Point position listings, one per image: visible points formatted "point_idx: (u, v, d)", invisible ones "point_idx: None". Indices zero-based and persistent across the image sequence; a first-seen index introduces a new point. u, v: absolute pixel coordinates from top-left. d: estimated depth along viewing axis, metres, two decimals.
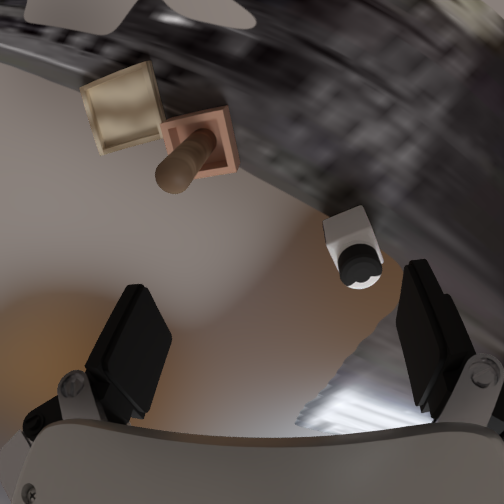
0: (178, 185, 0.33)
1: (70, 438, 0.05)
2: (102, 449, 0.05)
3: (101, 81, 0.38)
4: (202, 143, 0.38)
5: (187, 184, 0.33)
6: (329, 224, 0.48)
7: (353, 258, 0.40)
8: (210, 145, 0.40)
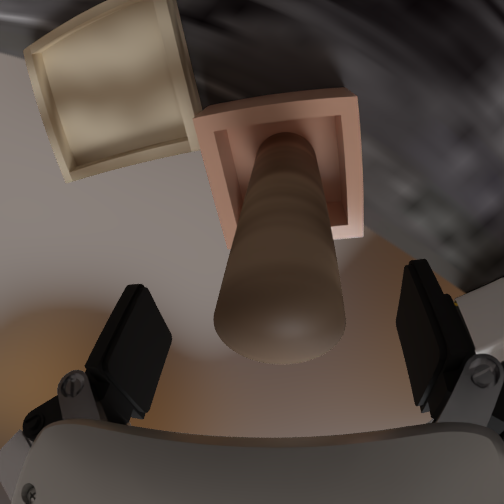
0: (295, 347, 0.10)
1: (70, 439, 0.05)
2: (102, 449, 0.05)
3: (62, 30, 0.14)
4: (316, 180, 0.15)
5: (326, 347, 0.10)
6: (470, 309, 0.25)
7: None
8: None
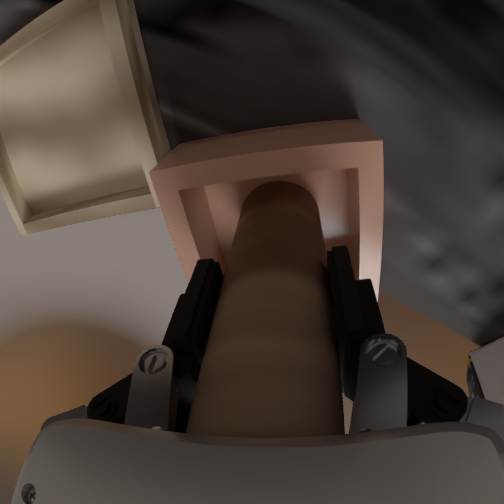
0: None
1: (70, 438, 0.05)
2: (102, 449, 0.05)
3: (1, 53, 0.10)
4: (321, 276, 0.10)
5: None
6: (485, 366, 0.20)
7: None
8: None
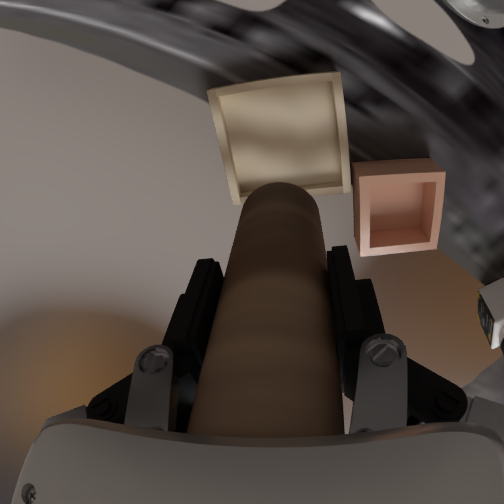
0: None
1: (70, 438, 0.05)
2: (102, 449, 0.05)
3: (254, 87, 0.25)
4: (321, 277, 0.10)
5: None
6: (489, 296, 0.36)
7: None
8: None
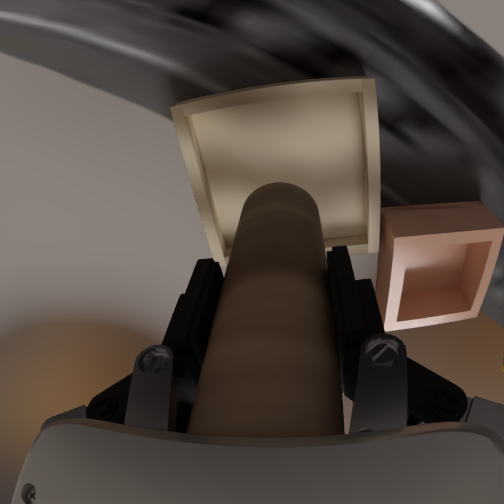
0: None
1: (70, 438, 0.05)
2: (102, 449, 0.05)
3: (240, 100, 0.17)
4: (321, 277, 0.10)
5: None
6: None
7: None
8: None
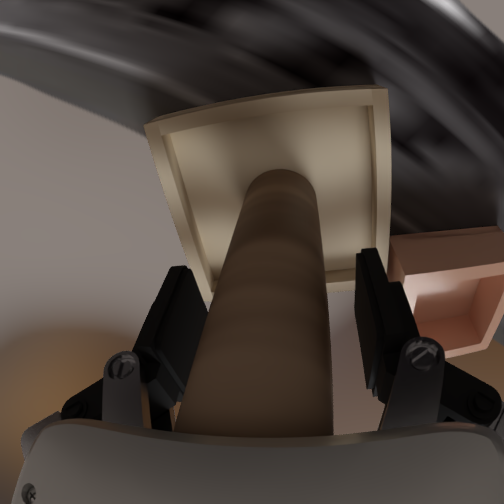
0: None
1: (70, 438, 0.05)
2: (102, 449, 0.05)
3: (226, 116, 0.14)
4: (314, 246, 0.12)
5: None
6: None
7: None
8: None
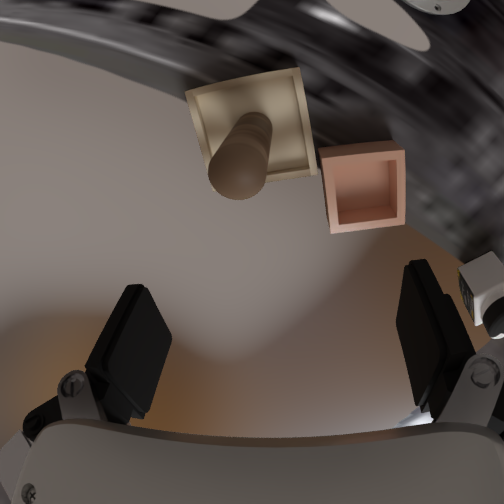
0: (246, 186, 0.22)
1: (70, 438, 0.05)
2: (102, 449, 0.05)
3: (224, 86, 0.29)
4: (264, 129, 0.27)
5: (260, 185, 0.21)
6: (468, 273, 0.39)
7: None
8: (270, 133, 0.29)
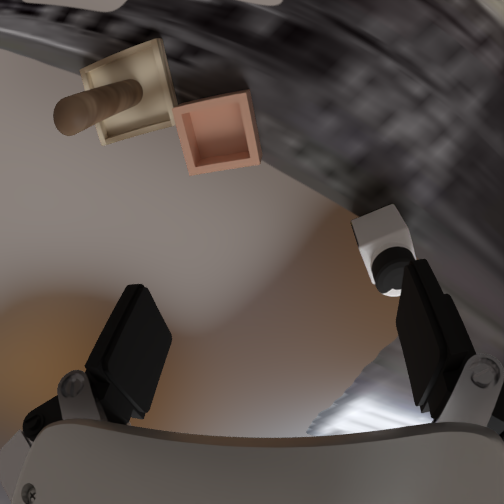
0: (74, 124, 0.25)
1: (70, 438, 0.05)
2: (102, 449, 0.05)
3: (104, 61, 0.32)
4: (115, 88, 0.30)
5: (81, 122, 0.25)
6: (360, 225, 0.42)
7: (391, 262, 0.35)
8: (129, 92, 0.32)
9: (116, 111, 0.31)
